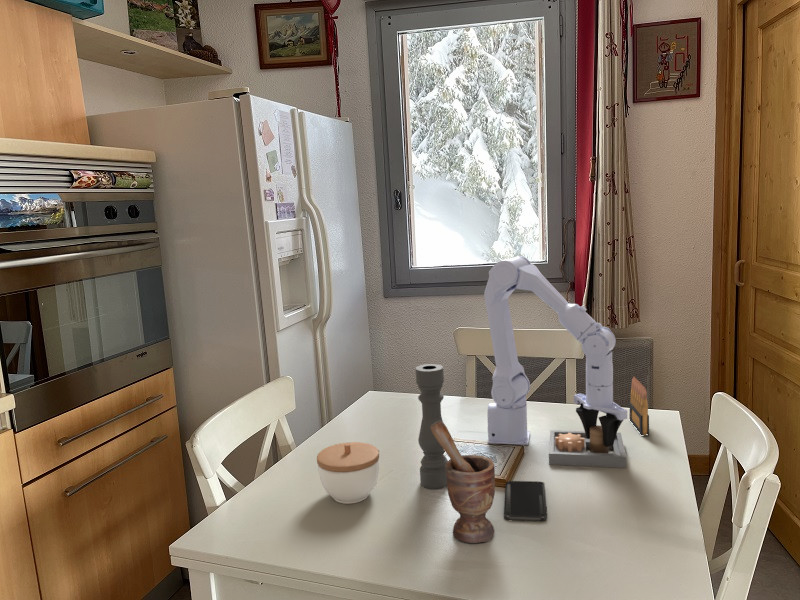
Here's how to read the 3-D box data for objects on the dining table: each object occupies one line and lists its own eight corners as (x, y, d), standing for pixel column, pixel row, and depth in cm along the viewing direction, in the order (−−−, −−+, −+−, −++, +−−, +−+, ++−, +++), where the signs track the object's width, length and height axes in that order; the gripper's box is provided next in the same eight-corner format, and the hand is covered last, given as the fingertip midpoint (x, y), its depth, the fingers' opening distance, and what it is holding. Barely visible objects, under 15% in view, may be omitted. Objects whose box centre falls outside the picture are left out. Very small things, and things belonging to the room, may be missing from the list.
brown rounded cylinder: (600, 459, 144) (599, 433, 143) (586, 453, 147) (585, 428, 146) (612, 454, 146) (612, 429, 145) (598, 449, 149) (598, 424, 148)
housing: (548, 464, 142) (548, 449, 142) (550, 440, 156) (550, 426, 155) (626, 467, 138) (626, 452, 138) (620, 442, 152) (620, 428, 151)
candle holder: (454, 478, 138) (448, 364, 134) (443, 491, 133) (437, 372, 129) (427, 474, 141) (421, 362, 137) (415, 486, 135) (409, 370, 131)
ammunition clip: (649, 436, 155) (649, 387, 153) (641, 436, 155) (641, 388, 153) (636, 420, 165) (636, 375, 163) (629, 420, 165) (629, 375, 163)
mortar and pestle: (427, 542, 114) (421, 433, 110) (437, 517, 122) (432, 416, 119) (493, 548, 111) (489, 436, 107) (499, 522, 119) (495, 418, 116)
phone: (503, 516, 120) (505, 480, 134) (503, 522, 120) (506, 485, 134) (547, 518, 118) (544, 481, 133) (547, 523, 118) (545, 486, 133)
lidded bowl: (354, 477, 142) (350, 428, 140) (394, 493, 133) (391, 442, 131) (307, 497, 133) (303, 446, 131) (347, 517, 124) (343, 462, 122)
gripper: (563, 378, 148) (564, 435, 150) (609, 394, 135) (610, 456, 138) (586, 373, 151) (587, 429, 154) (634, 388, 138) (634, 448, 141)
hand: (599, 441), depth 146 cm, fingers open, 5 cm apart
